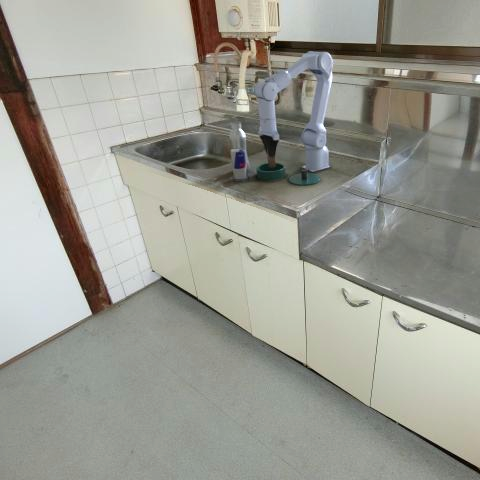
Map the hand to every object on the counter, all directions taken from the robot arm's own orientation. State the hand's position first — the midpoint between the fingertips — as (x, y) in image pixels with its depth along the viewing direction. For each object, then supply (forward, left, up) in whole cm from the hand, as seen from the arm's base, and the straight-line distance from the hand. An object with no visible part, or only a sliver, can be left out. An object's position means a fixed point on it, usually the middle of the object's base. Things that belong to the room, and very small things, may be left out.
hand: (270, 155), depth 137 cm
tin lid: (-9, +9, -10) cm, 16 cm away
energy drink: (+9, -9, -10) cm, 17 cm away
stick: (0, 0, -4) cm, 4 cm away
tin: (-2, -4, -10) cm, 11 cm away
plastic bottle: (+4, -17, -10) cm, 21 cm away
